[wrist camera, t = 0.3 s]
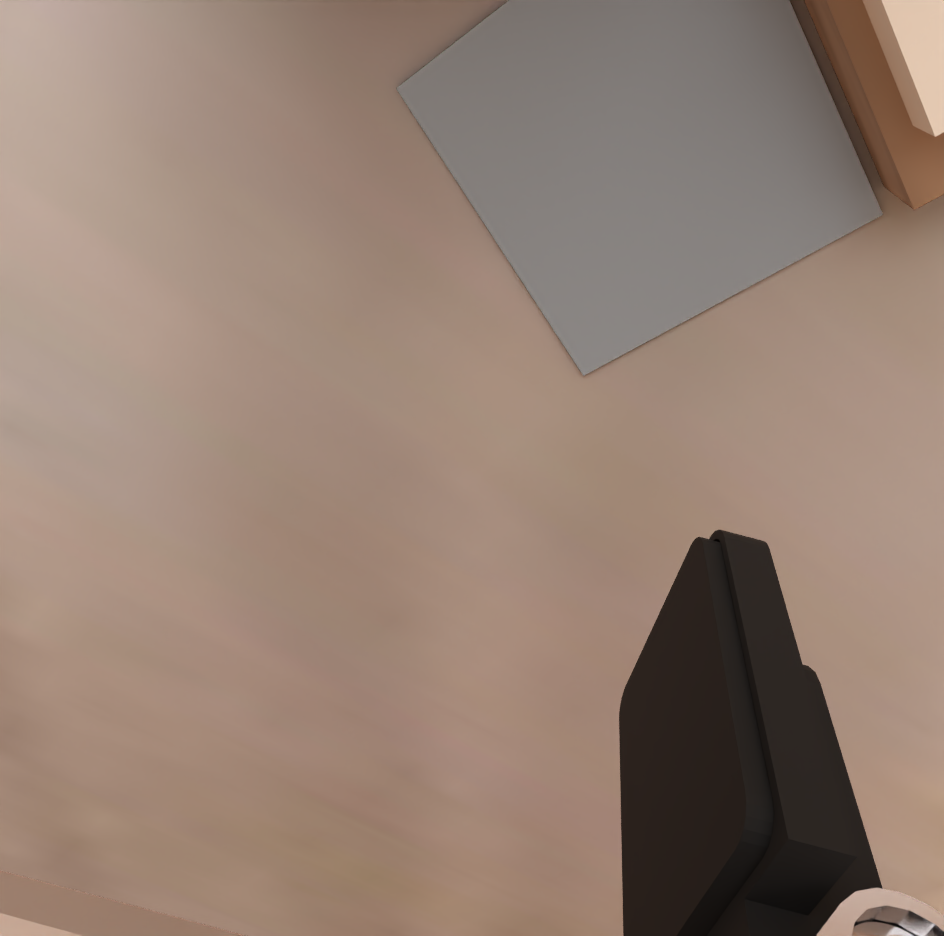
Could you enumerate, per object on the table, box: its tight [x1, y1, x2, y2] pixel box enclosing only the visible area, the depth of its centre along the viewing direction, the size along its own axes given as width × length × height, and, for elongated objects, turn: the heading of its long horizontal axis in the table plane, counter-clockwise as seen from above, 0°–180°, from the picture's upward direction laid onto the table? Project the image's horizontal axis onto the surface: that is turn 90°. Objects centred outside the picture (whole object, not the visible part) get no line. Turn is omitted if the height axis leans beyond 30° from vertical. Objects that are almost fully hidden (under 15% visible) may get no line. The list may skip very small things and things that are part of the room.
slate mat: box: [396, 0, 883, 376], centre depth 35 cm, size 15×16×1 cm
